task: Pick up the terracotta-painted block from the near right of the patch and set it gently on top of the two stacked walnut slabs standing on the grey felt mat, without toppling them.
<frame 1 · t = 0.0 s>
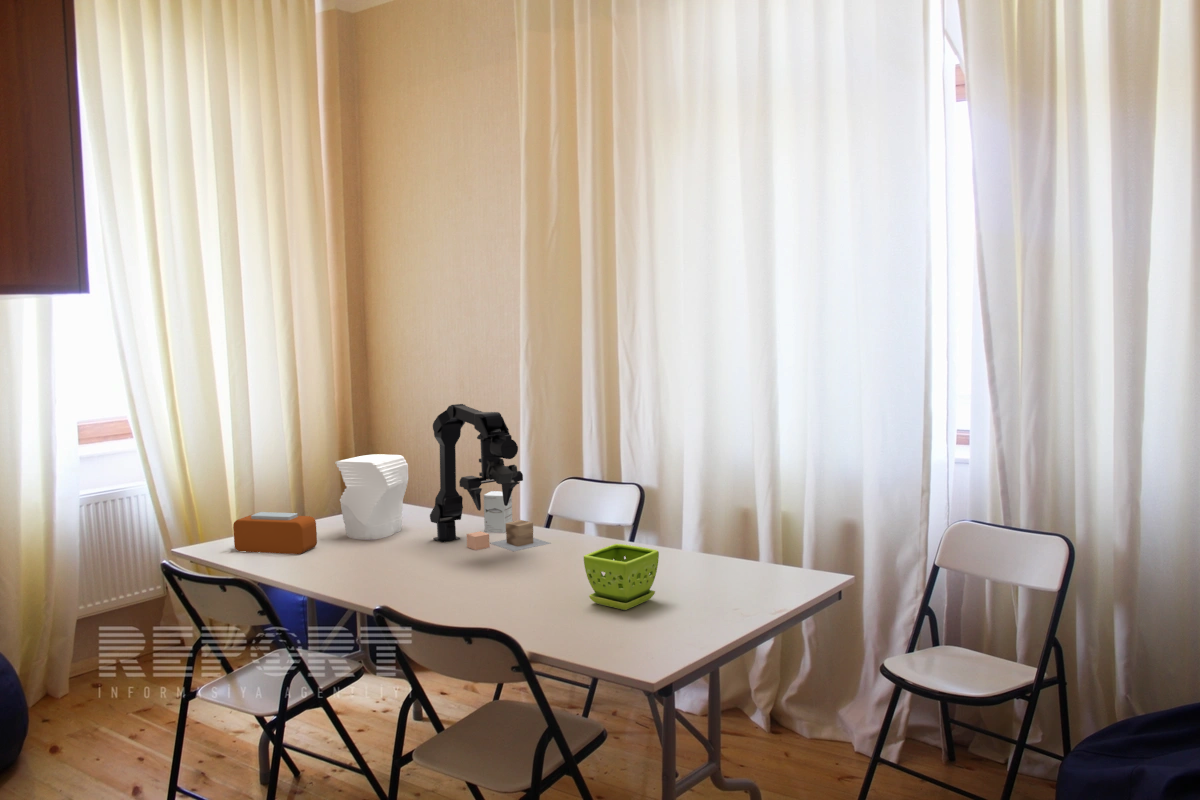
hand: (492, 507, 273), 15 cm above the table, fingers open, 9 cm apart
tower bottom: (520, 543, 289), resting on felt mat, touching tower top
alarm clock: (276, 550, 290), on the table
flower pot: (622, 603, 229), on the table
supplement box: (498, 531, 308), on the table
felt mat: (520, 544, 289), on the table
terracotta block: (478, 548, 285), on the table
tower top: (519, 532, 289), point 3 cm above the table, touching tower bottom
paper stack: (382, 533, 308), on the table
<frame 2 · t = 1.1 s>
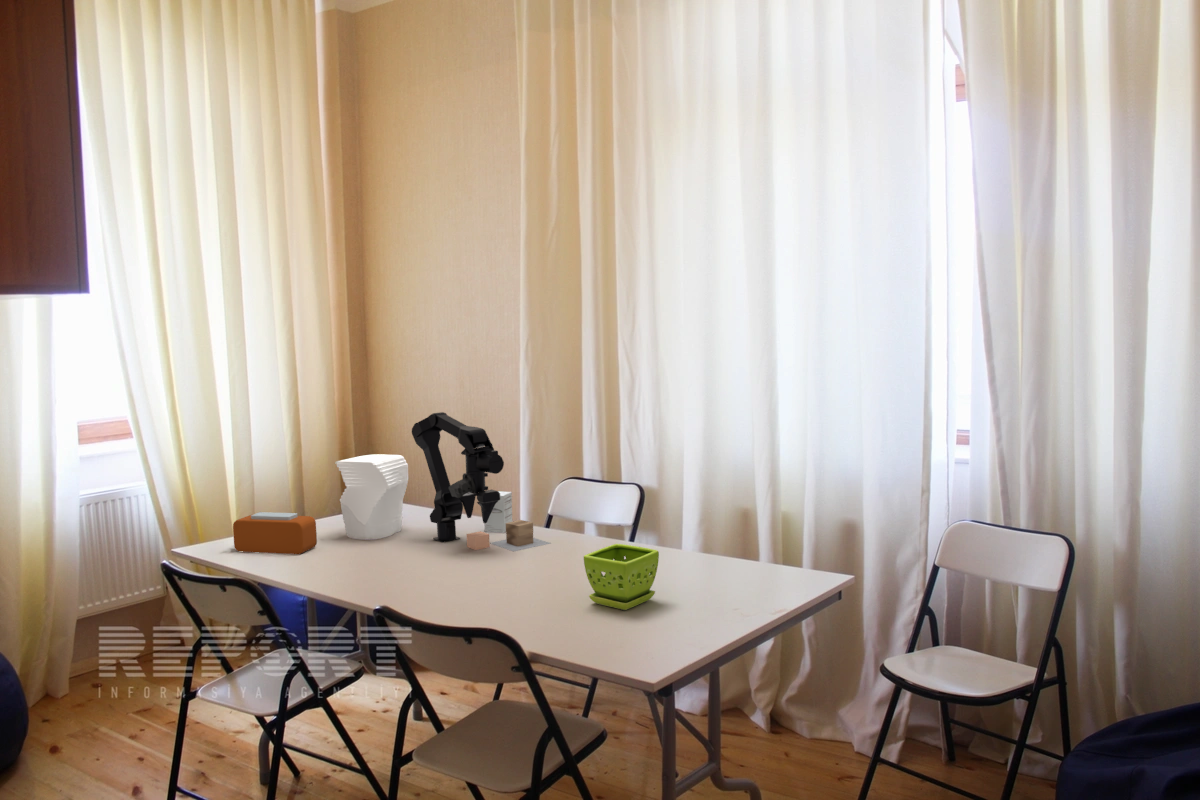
hand: (477, 520, 285), 9 cm above the table, fingers open, 9 cm apart
nothing on the table moved.
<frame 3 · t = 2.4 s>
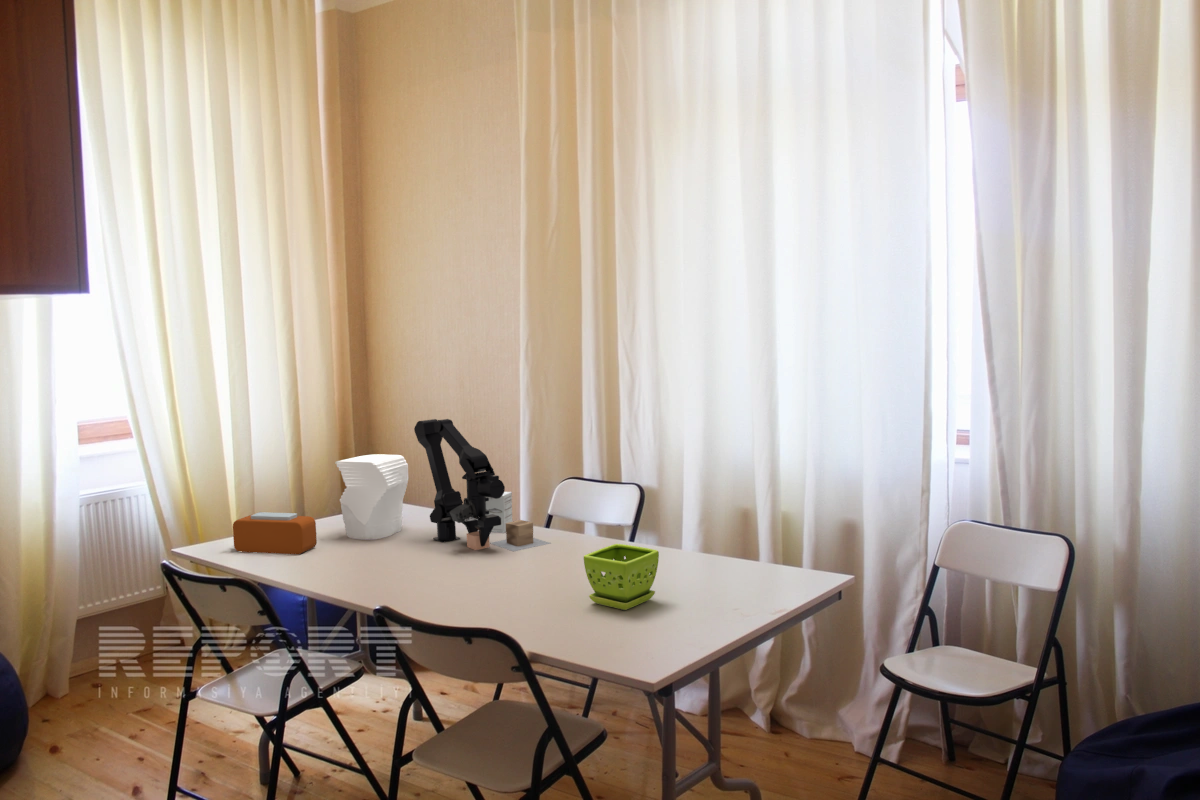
hand: (478, 544, 285), 1 cm above the table, fingers closed on terracotta block, 5 cm apart
terracotta block: (478, 547, 285), on the table, touching gripper
everything else where it was.
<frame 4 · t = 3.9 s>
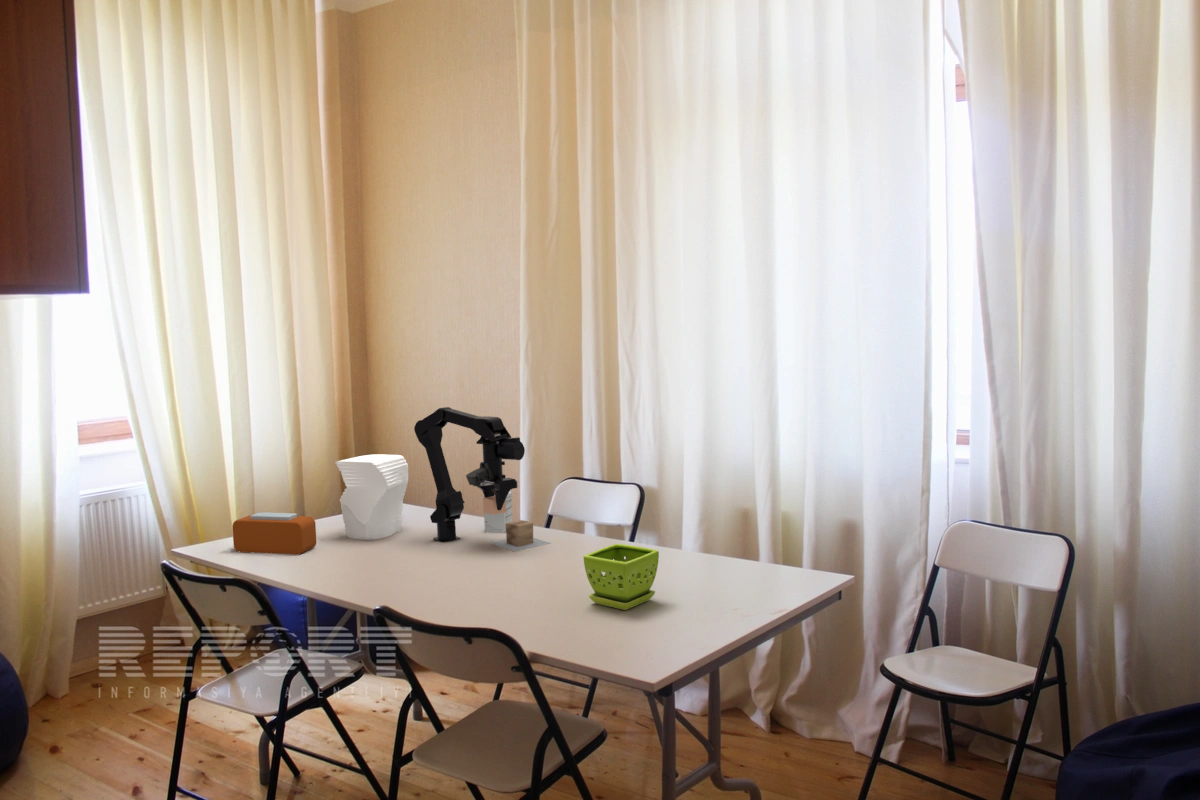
hand: (494, 508, 285), 12 cm above the table, fingers closed on terracotta block, 5 cm apart
terracotta block: (494, 512, 286), point 11 cm above the table, touching gripper
everything else where it was.
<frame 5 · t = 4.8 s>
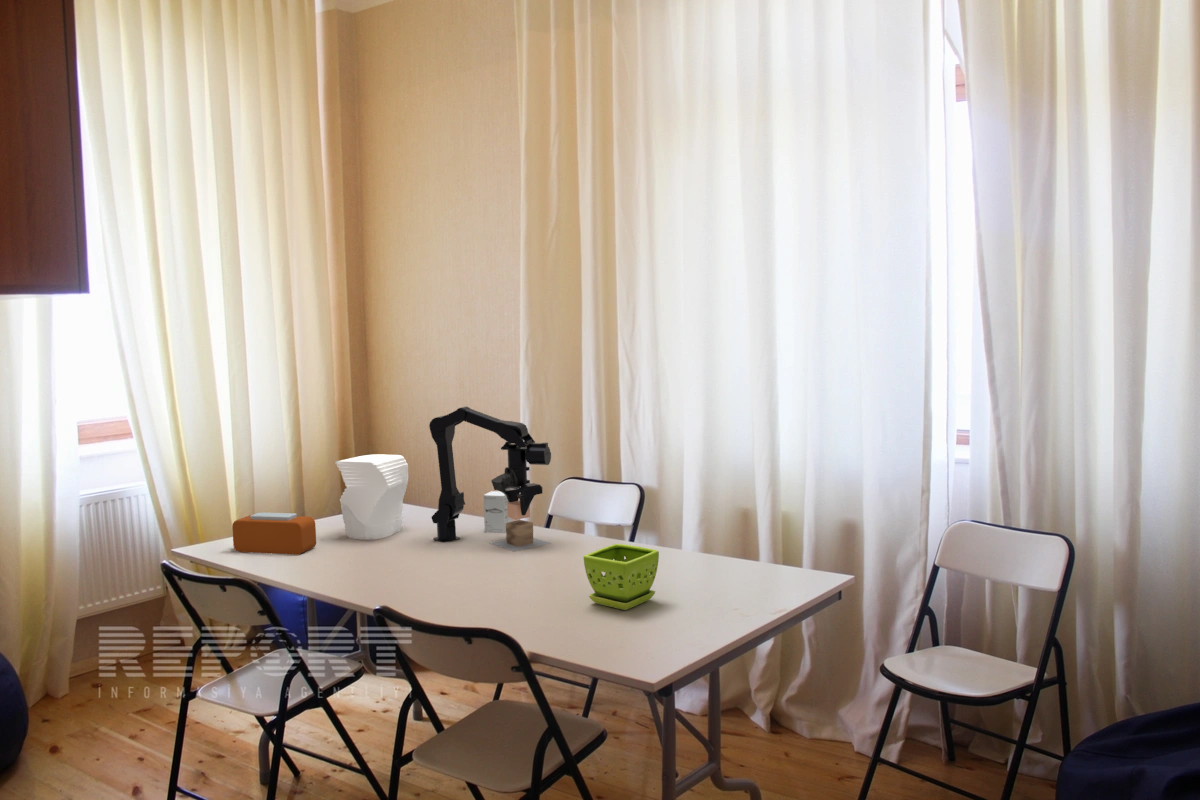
hand: (518, 513, 288), 10 cm above the table, fingers closed on terracotta block, 5 cm apart
terracotta block: (518, 517, 288), point 9 cm above the table, touching gripper
everything else where it was.
when the fingers open (9 cm above the table, at t = 5.4 s): terracotta block stays where it is, resting on tower top.
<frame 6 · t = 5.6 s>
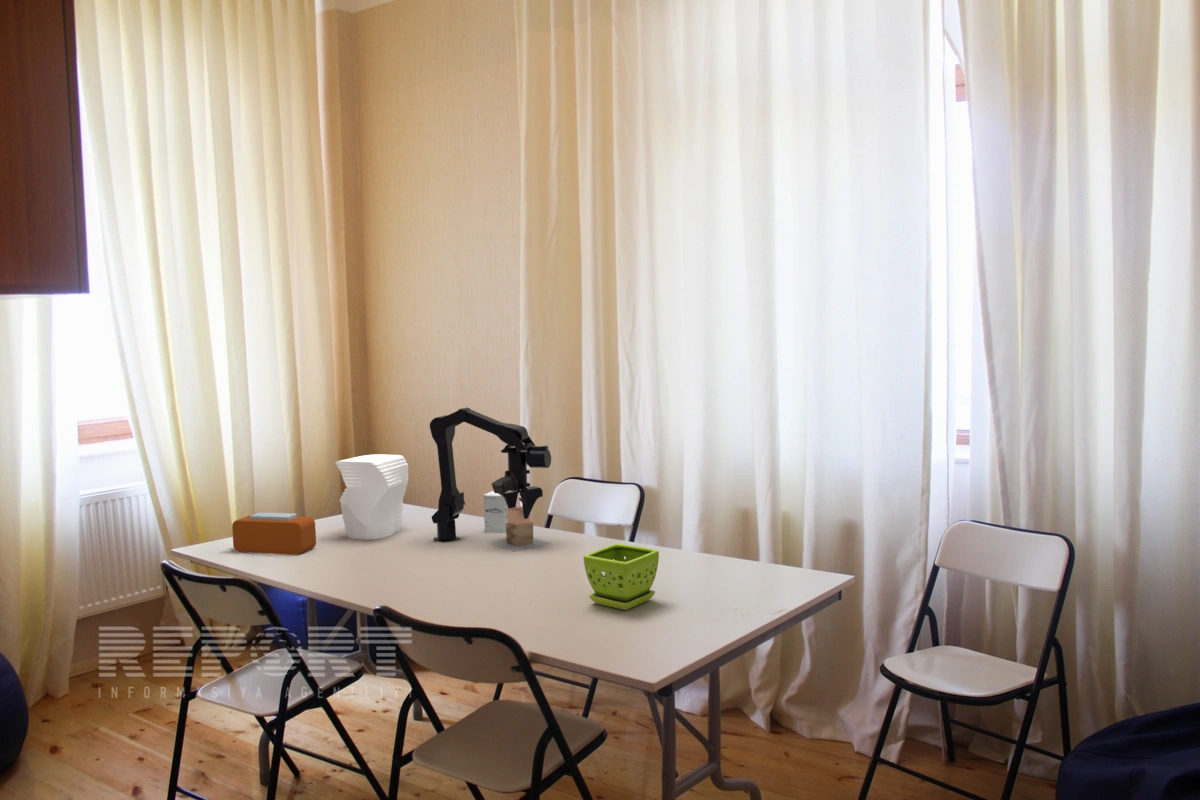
hand: (519, 516, 288), 9 cm above the table, fingers open, 7 cm apart
terracotta block: (519, 522, 288), point 7 cm above the table, touching tower top
tower top: (519, 532, 289), point 3 cm above the table, touching terracotta block, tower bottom
everything else where it was.
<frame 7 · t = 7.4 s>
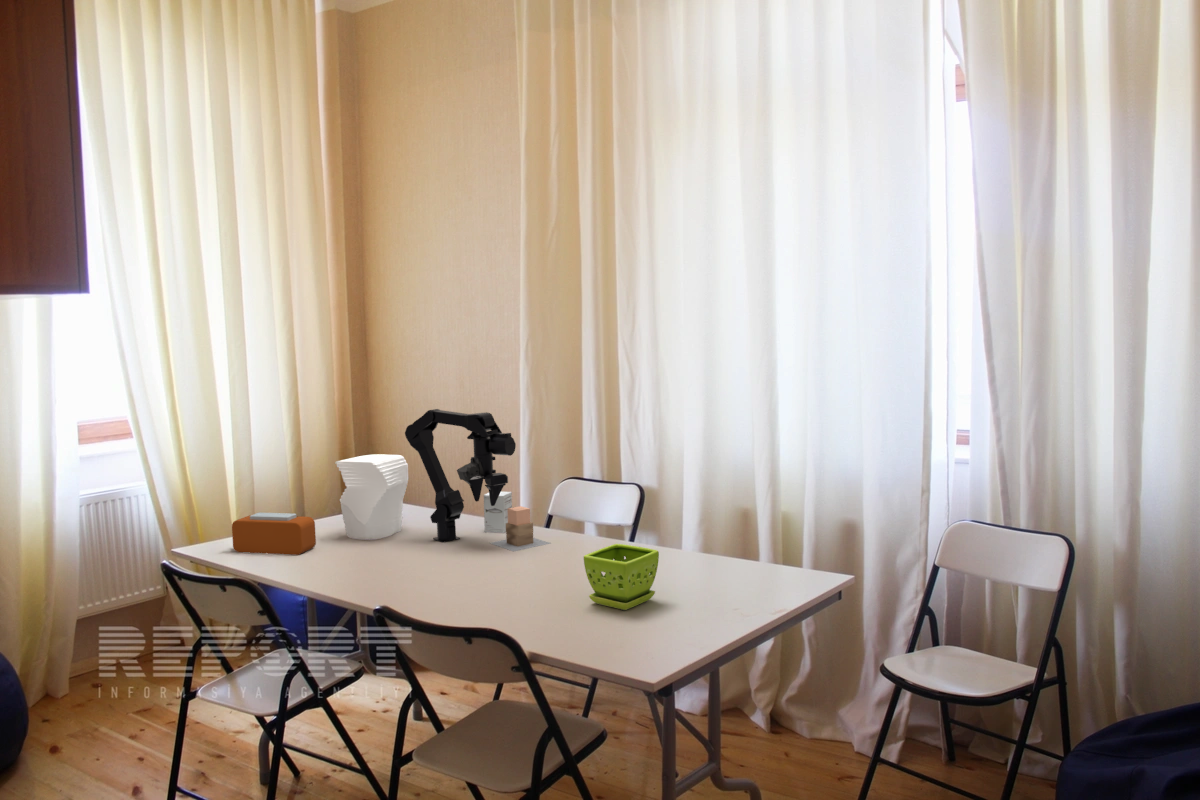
hand: (484, 503, 288), 13 cm above the table, fingers open, 9 cm apart
nothing on the table moved.
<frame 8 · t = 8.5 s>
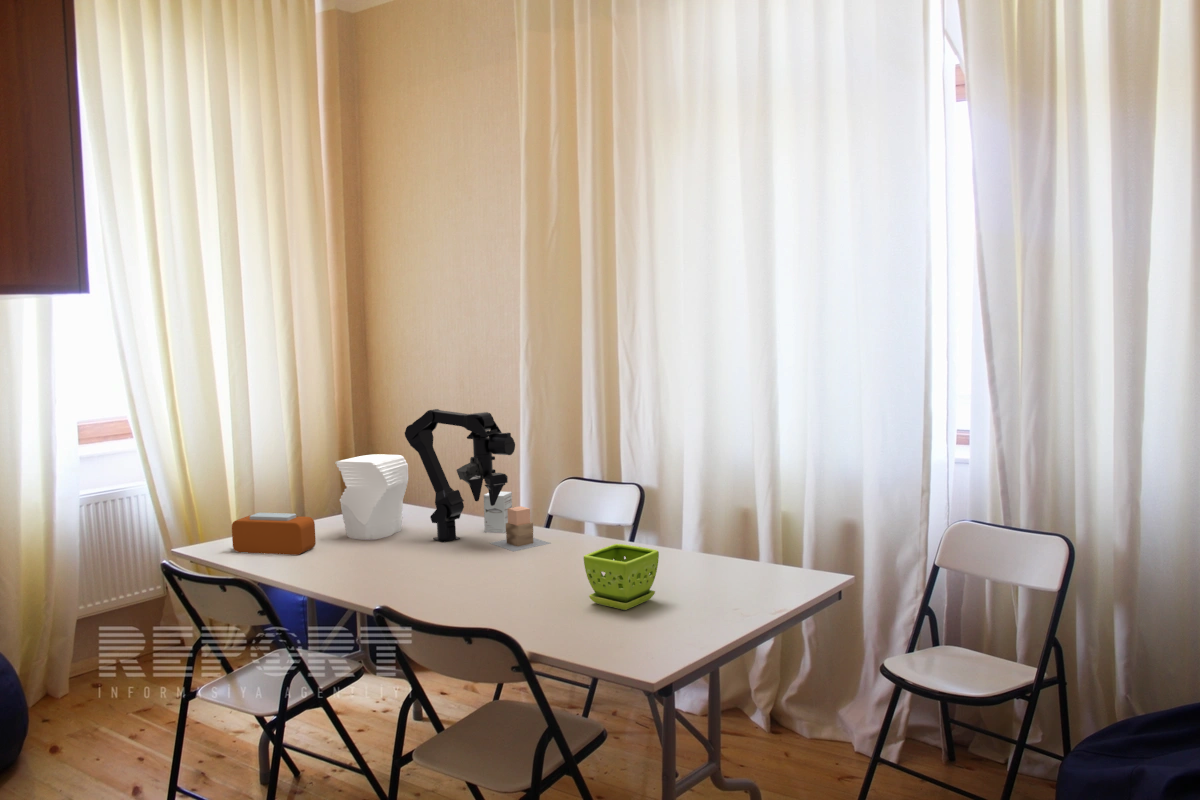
hand: (484, 503, 288), 13 cm above the table, fingers open, 9 cm apart
nothing on the table moved.
at the end: terracotta block 0.1 cm off-centre on the tower top, point 3.2 cm above the tower top's base; terracotta block tilted 0°; tower top moved 0.0 cm from its start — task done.
